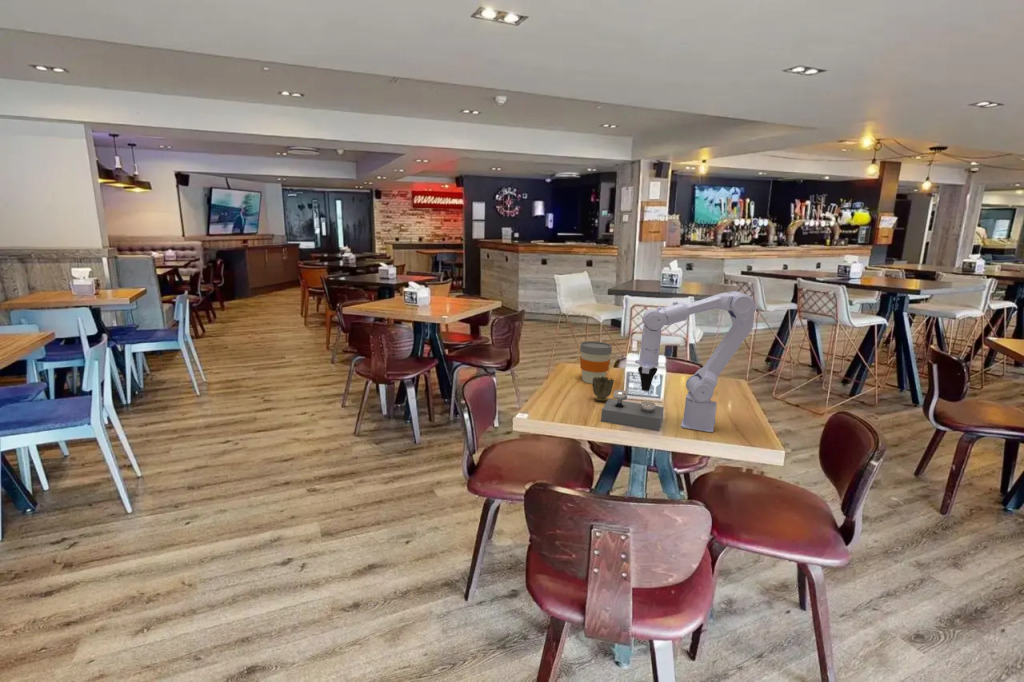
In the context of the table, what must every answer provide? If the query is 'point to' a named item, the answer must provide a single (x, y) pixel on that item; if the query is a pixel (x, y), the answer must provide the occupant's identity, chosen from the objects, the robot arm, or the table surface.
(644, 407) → the knob near
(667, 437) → the table surface
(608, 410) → the knob mount
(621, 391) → the knob outer
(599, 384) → the cup
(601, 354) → the reusable coffee cup
